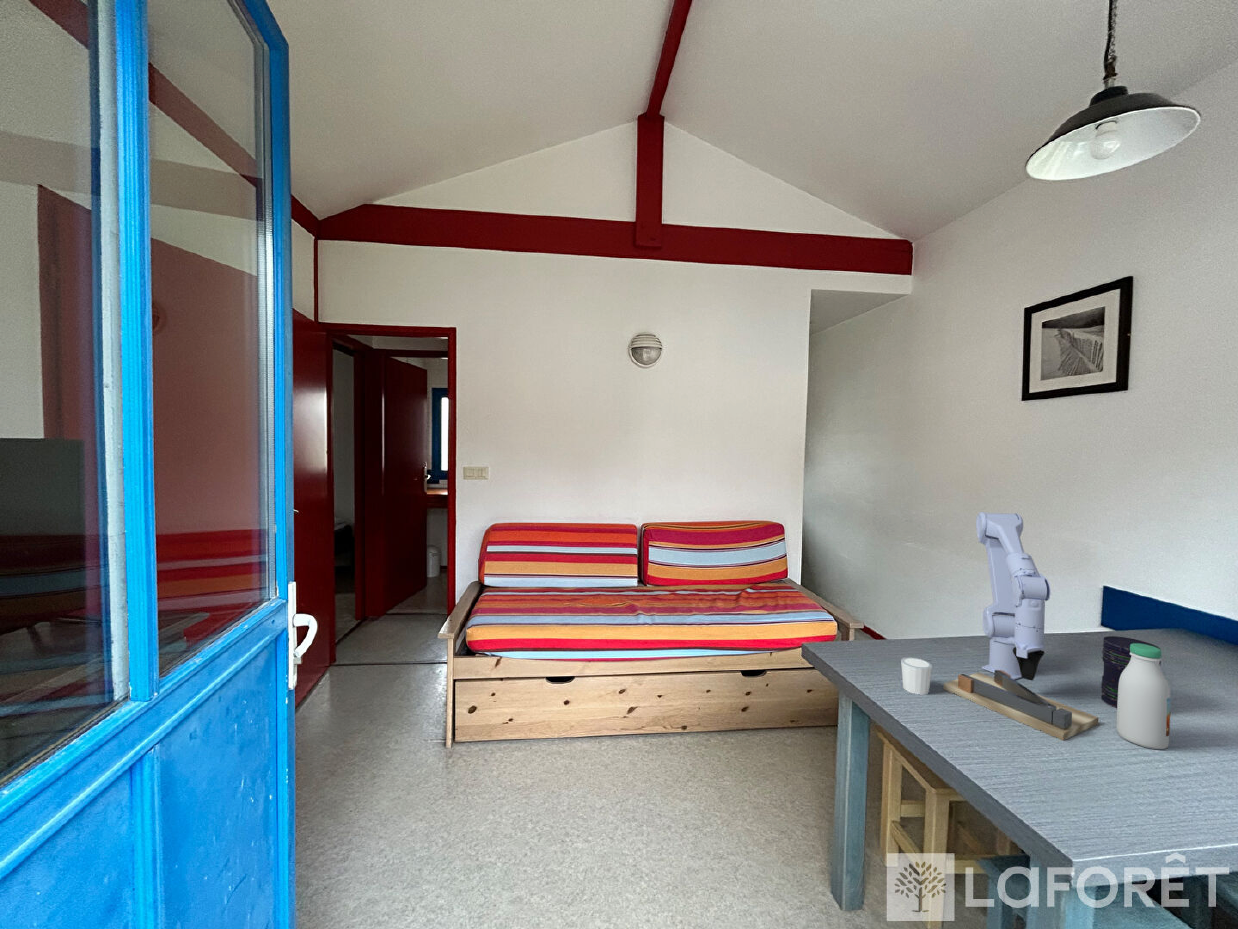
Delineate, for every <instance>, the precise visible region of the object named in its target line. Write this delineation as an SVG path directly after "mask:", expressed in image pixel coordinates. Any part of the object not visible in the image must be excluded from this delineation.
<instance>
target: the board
mask: <svg viewBox="0 0 1238 929" xmlns="http://www.w3.org/2000/svg"><path fill="white" fill-rule="evenodd" d="M968 676H970V677H972V678H975V679H978V680H980V681H983V682H985V683H988V684H990V685H993V686H996V687H998V688H1001V689H1003V690H1006V689H1004V688H1003V687H1001V686H1000V685H999V684H997V683H996V682H994V677H992V676H989V675H987V674H984V673H980V672H979V671H978V672H975V673H972V674H970V675H968ZM943 690H944V691H946V692H949V693H952V694H953V693H955V694H954V695H956V694H957V695H956V696H958V695H959V697H960V696H961V698H963V699H965V700H967V699H969V700H968V701H970V700H971V701H970V702H972V701H973V702H972V703H974V702H975V703H974V704H977V705H979V706H981V705H982V706H981V707H984V706H985V707H984V708H986V707H987V709H988V710H991V711H993V712H995V711H997V712H996V713H998V712H999V713H998V714H1001V715H1002V714H1003V716H1005V717H1007V718H1010V719H1012V720H1014V719H1015V720H1014V721H1016V720H1017V721H1016V722H1019V723H1022V724H1024V725H1026V726H1028V725H1029V726H1028V727H1031V728H1033V729H1035V730H1038V731H1040V730H1041V731H1040V732H1042V731H1043V732H1042V733H1045V734H1047V735H1049V736H1051V737H1054V736H1055V737H1054V738H1056V737H1057V739H1058V738H1059V740H1061V741H1065V740H1067V739H1066V738H1068V739H1070V738H1071V737H1070V736H1072V737H1074V736H1076V735H1078V734H1081V733H1083V732H1084V731H1086V730H1089V729H1091V728H1093V727H1095V726H1097V725H1099V717H1098V716H1096V715H1093V714H1091V713H1088V712H1086V711H1082V710H1079V709H1077V708H1075V707H1072V706H1070V705H1067V704H1064V703H1060V702H1059V701H1056V700H1053V699H1050V698H1048V697H1045V696H1043V695H1039V694H1037V693H1036V694H1037V695H1038V696H1040V697H1041V698H1043V699H1044V700H1046V701H1047V702H1049V703H1050V704H1052V705H1055V706H1056V707H1057V709H1060V708H1062V709H1065V710H1067V711H1070V712H1072V726H1070V727H1068V728H1066V729H1062V728H1059V727H1057V726H1054V725H1053V724H1049V723H1047V722H1045V721H1042V720H1040V719H1037V718H1035V717H1033V716H1030V715H1028V714H1025V713H1023V712H1020V711H1018V710H1016V709H1013V708H1011V707H1008V706H1006V705H1003V704H1001V703H999V702H996V701H994V700H991V699H989V698H986V697H984V696H982V695H979V694H977V693H974V692H968V691H966V690H964V689H961V688H959V687H958V678H956V679H953V680H951V681H948V682H947V681H946V682H943ZM1006 691H1007V690H1006ZM1008 692H1009V691H1008ZM1083 730H1084V731H1083ZM1069 737H1070V738H1069Z"/></svg>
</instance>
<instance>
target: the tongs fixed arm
mask: <svg viewBox="0 0 1238 929" xmlns="http://www.w3.org/2000/svg"><path fill="white" fill-rule="evenodd" d="M957 679H958V687H959V688H961V689H964V690H966V691H968V692H974V693H977V694H979V695H982V696H984V697H986V698H989V699H991V700H994V701H996V702H999V703H1001V704H1003V705H1006V706H1008V707H1011V708H1013V709H1016V710H1018V711H1020V712H1023V713H1025V714H1028V715H1030V716H1033V717H1035V718H1037V719H1040V720H1042V721H1045V722H1047V723H1049V724H1053V725H1054V726H1057V727H1059V728H1062V729H1066V728H1068V727H1070V726H1072V712H1070V711H1067V710H1065V709H1062V708H1060V709H1057V710H1055V709H1052V708H1050V707H1047V706H1044V705H1042V704H1039V703H1037V702H1034V701H1032V700H1029V699H1026V698H1024V697H1021V696H1019V695H1016V694H1014V693H1011V692H1008V691H1006V690H1003V689H1001V688H998V687H996V686H993V685H990V684H988V683H985V682H983V681H980V680H978V679H975V678H972V677H970V676H969V675H967V674H964V673H962V674H958V675H957Z"/></svg>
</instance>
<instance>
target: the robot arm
mask: <svg viewBox="0 0 1238 929" xmlns="http://www.w3.org/2000/svg"><path fill="white" fill-rule="evenodd" d="M975 528H976V535H977V539H978V542H979V543H981V544H982V545H983V546H985V550H986V557H987V563H988V571H989V579H990V586H991V587H990V588H991V593H992V601H993V603H991V604H989V605H988V606H986V607H985V608H984V609H983V611H982V628H983V629H982V631H983V633H984V634H985V635H986V637H987V638H989V657H988V658H989V659H988V664H986V665H984V666H981V669H982V670H985V671H988V672H991V673H993V674H994V672H995V670H1003V671H1005V672H1006V673H1008V674H1009V675H1011V678H1012V679H1014V680H1015V681H1016V680H1018V679H1020V678H1022V679H1024V680H1028V681H1031V682H1032V681H1034V678H1036V675H1037V670H1038V666H1039V663H1040V661H1041V659H1042V658H1043V656H1044V655H1045V651H1044V650H1045V648H1046V647H1045V646H1046V645H1045V622H1046V621H1045V617H1046V616H1045V615H1046V614H1045V613H1046V602H1048V601H1049V600H1050V598H1051V594H1052V592H1051V585H1050V582H1049V580H1048V578H1047V577H1046V576H1044V575H1043V573H1040V572H1039V571H1038V569H1037V566H1036V564H1035V561H1034V559H1033V557H1032V556H1031V555H1030V554H1029V553H1026V552H1025V550H1024V545H1023V542H1022V539H1021V535H1022V533H1023V531H1024V520H1023V517H1022V516H1021V514H1019V513H1018V512H1017V513H1003V512H1001V513H999V512H985V511H980V512H979V513H978V514H977V516H976V522H975Z"/></svg>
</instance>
